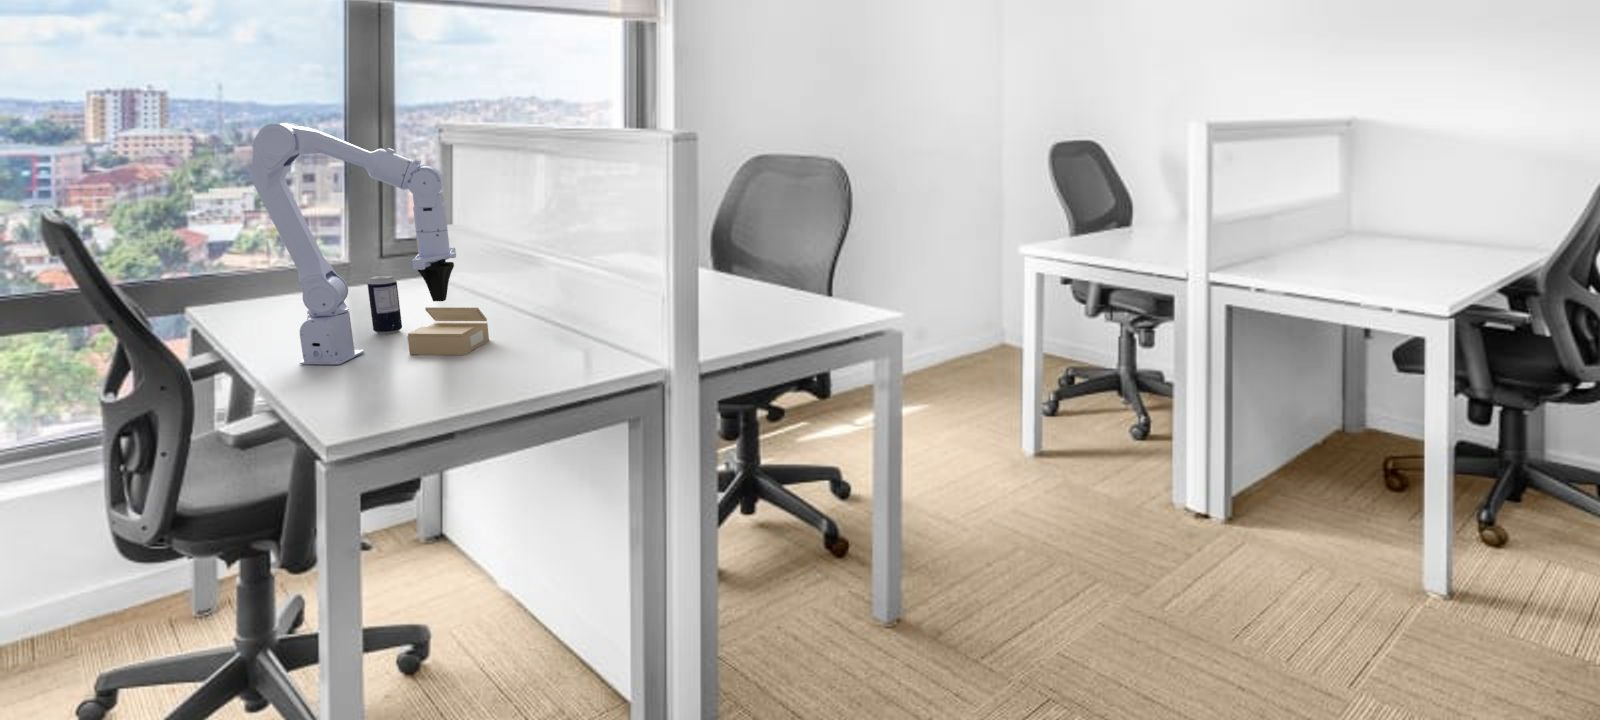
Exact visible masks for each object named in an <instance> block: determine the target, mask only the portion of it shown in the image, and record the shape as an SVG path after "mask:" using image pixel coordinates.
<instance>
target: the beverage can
mask: <svg viewBox="0 0 1600 720" xmlns="http://www.w3.org/2000/svg"><path fill="white" fill-rule="evenodd" d="M367 291H368V299H369V306H370V314H371V320H372V321H371V322H372V323H371V324H372V330H373V332H375V333H377V335H379V336H380V335H381V336H389V335H395V334H398V333H399V332H400V330H401V329H402V328H403V323H402V316H401V308H400V299H399V298H400V297H399V291H398V281H397V280H396V278H395V276H394V274H378V275H372V276H368V282H367Z"/></svg>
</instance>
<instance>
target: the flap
mask: <svg viewBox="0 0 1600 720" xmlns="http://www.w3.org/2000/svg"><path fill="white" fill-rule="evenodd" d="M424 310H425V311H426V312H427V314H428V315H429V316H430V317H431V318H432V319H433V321H434V322H487V321H488V319H487V317H486V316H485V314H484V313H483V312H482V311H481V309H480V308H479V307H425V309H424Z"/></svg>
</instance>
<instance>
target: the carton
mask: <svg viewBox="0 0 1600 720" xmlns="http://www.w3.org/2000/svg"><path fill="white" fill-rule="evenodd" d="M489 335H490V334H489V325H488V322H434V323H431V324H430V325H427V326H420V327H418V328H416V329H414V330H412V331H410V332H408V333H407V343H408V350H409V355H410V354H422V355H424V356H425V355H429V356H430V355H432V356H434V355H435V356H437V355H438V356H466V355H467V354H469V353H470V352H472V351H474V350H475V349H477V348H478V347H480V346H482V345H484V344H485V343H486V342H487V343H488V341H490V337H489Z"/></svg>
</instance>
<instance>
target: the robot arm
mask: <svg viewBox="0 0 1600 720" xmlns="http://www.w3.org/2000/svg"><path fill="white" fill-rule="evenodd" d="M251 147H252V148H251V149H252V159H251V169H250V179H251V182H252V185H253V186H254V188H255V190H256V191H257V194H258V196H259V198H260V199H261V201H262V203H263V205H264V207H265V209H266V211H267V213H268V215H269V217H270V219H271V221H272V223H273V225H274V227H275V229H276V230H277V232H278V234H279V236H280V239H281V241H282V242H283V244H284V246H285V249H287V252H288V254H289V256H290V258H291V260H292V261H293V264H294V266H295V267H296V270H297V277H298V282H299V285H300V287H301V290H302V302H303V304H304V306H305V308H307V311H306V314H307V319H306V320H305V321H304V322H303V323H302V324H301V326H300V329H299V339H300V340H299V341H300V344H301V353H302V358H303V359H302V360H300V361H299V365H342V364H343V363H345V362H348V361H349V360H352V359H353V358H355V357H358V356H359V355H361V354H364V353H365V350H364V349H355V345H354V339H353V338H354V337H353V329H352V322H351V315H350V308H349V306H348V305H347V304H346V302H345V300H346V299H347V298H348V295H349V286H348V284H347V282H346V280H345V279H344V278H342V277H341V276H340V275H339V274H337V272H336V271H335V269H334V268H333V265H332V264H331V263H330V262H329V261H328V260H327V259H326V258H325V257H324V255H323V253H322V251H321V249H320V247H319V245H318V243H317V241H316V239H315V237H314V235H313V233H312V231H311V229H310V227H309V225H308V223H307V221H306V219H305V217H304V215H303V213H302V211H301V209H300V208H299V206H298V203H297V201H296V200H295V197H294V196H293V193H292V191H291V189H290V188H289V186H288V183H287V181H286V176H287V174H288V173H289V171H290V168H291V167H292V164H293V163H294V161H295V160H297V158H299V157H300V155H301V156H302V155H309V154H323V155H325V156H328V157H332V158H334V159H337V160H340V161H343V162H347V163H349V164H353V165H355V166H358V167H361V168H363V169H365V170H366V172H367V174H368V176H369V177H370V178H371V179H374V180H376V181H379V182H381V183H385V184H387V185H390V186H392V187H395V188H398V189H402V191H404V190H409V191H410V193H411V194H412V200H413V201H412V202H413V207H412V210H413V217H414V227H415V236H416V245H417V254H416V256H415V257H414V258H413V259H411V263H412V270H414V271H417V272H418V273H419V274H420V275H421V277H422V279H423V280H424V282H425V284H426V287H427V289H428V292H429V295H430V296H431V299H432V301H433V302H445V301H446V300H447V296H448V295H447V294H448V287H449V282H450V277H451V274H452V271H453V269H454V267H455V264H454V263H455V262H453V261H446V260H450V259H455V258H457V251H456V247H450V239H449V231H448V230H449V229H448V222H447V211H446V210H447V209H446V205H445V204H444V201H445V196H444V195H443V192H442V190H443V187H444V177H443V174H442V173H441V171H440V170H439V169H437V168H436V167H434V166H433V165H431V164H422V165H421V160H419V159H417V158H415V159H414V160H413V159H410V158H407V157H404V156H403V155H400V154H397V153H395V152H396V150H395V149H392V148H390V147H388V148H386V149H384V148H377V149H376V150H374V151H369V150H367V149H364V148H361V147H359V146H357V145H355V144H352V143H350V142H347V141H345V140H343V139H339V138H338V137H336V136H333V135H330V134H328V133H325V132H323V131H320V130H317V129H314V128H311V127H308V126H306V127H305V126H299V125H297V124H295V123H292V122H289V121H288V122H287V121H286V122H285V121H284V122H280V123H279V122H278V123H269V124H265V125H264V126H262V127H261V128H260V130H259V131H258V133H257V134H256V136H255V138H254V139H253V140H252V143H251Z"/></svg>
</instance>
